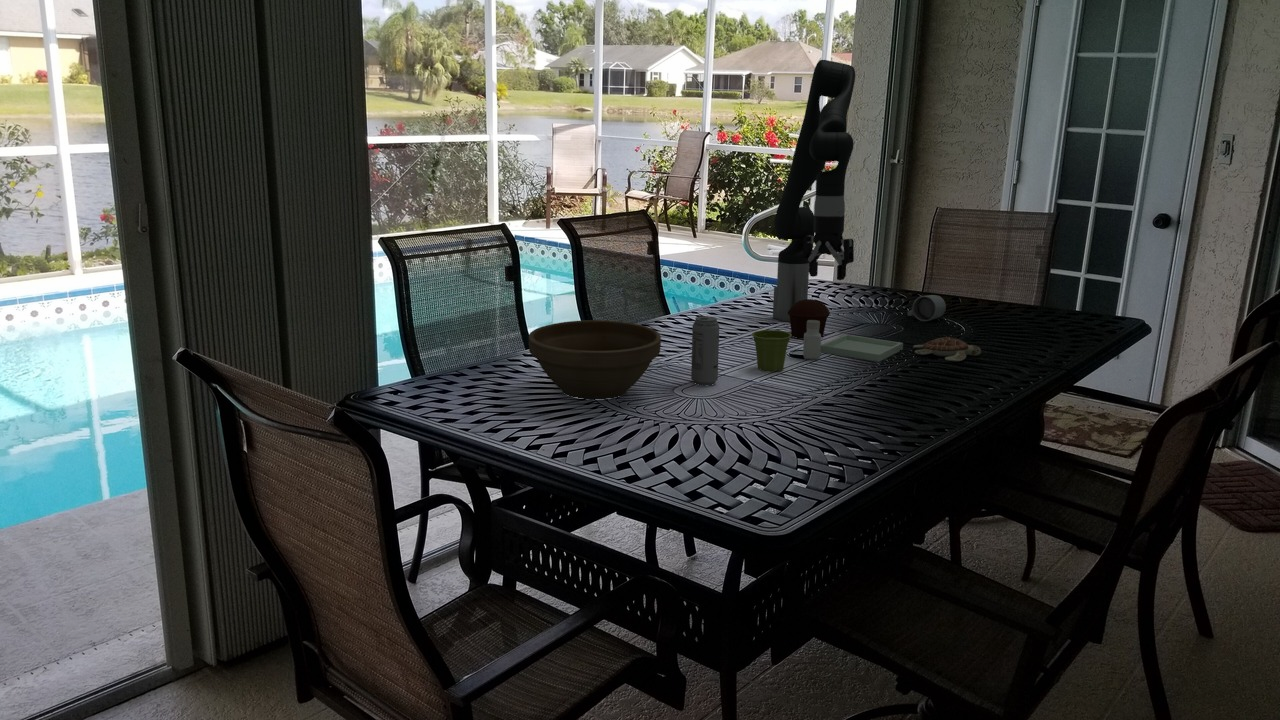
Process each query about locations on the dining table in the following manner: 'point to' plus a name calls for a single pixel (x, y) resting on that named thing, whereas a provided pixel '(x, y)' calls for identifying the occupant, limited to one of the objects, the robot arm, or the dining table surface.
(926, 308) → the ceramic mug
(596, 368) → the flower pot
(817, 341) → the pepper shaker
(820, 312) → the muffin
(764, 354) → the plant pot
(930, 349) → the decorative turtle
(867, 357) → the tray
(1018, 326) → the dining table surface
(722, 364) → the dining table surface
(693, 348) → the energy drink can
